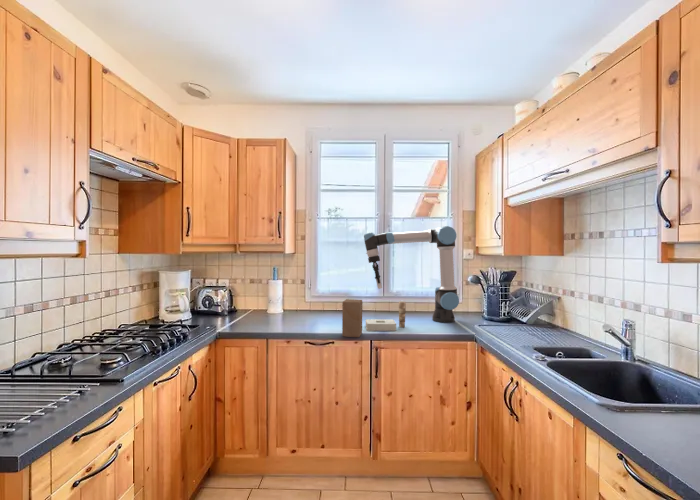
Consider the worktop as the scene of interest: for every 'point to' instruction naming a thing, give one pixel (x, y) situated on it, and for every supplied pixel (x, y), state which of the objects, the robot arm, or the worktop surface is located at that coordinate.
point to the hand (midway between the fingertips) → (379, 287)
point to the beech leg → (402, 314)
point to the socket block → (380, 325)
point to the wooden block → (352, 318)
